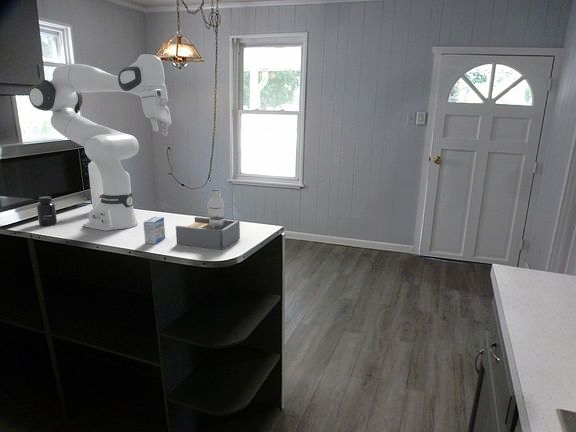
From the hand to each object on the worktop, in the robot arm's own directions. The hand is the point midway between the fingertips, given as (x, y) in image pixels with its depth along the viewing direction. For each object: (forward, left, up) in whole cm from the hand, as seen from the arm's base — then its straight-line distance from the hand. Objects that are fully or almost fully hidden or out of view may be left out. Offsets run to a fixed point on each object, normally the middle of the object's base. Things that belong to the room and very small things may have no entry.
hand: (160, 133), depth 156 cm
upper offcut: (+15, -4, -38) cm, 41 cm away
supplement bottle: (-56, -5, -40) cm, 69 cm away
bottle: (-51, +22, -40) cm, 68 cm away
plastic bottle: (+24, -4, -40) cm, 47 cm away
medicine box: (+1, -10, -40) cm, 42 cm away
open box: (+21, -4, -40) cm, 45 cm away
